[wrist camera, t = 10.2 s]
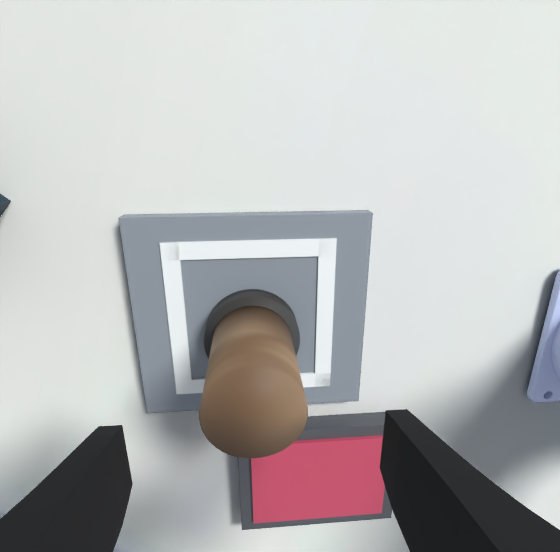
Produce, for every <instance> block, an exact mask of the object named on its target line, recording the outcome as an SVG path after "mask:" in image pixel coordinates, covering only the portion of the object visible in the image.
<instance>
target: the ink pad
mask: <svg viewBox="0 0 560 552" xmlns="http://www.w3.org/2000/svg"><path fill="white" fill-rule="evenodd" d="M384 421H385V412H378V413H362V414H345V415H328V416H311V417H307V421H306V425H305V427H304V429H303V431H302V433H301V434H300V436H299V437H298V438H297V439H296V440H295V441H294V442H293V443H292V444H291V445H290V446H288V447H287V448H286V449H284V450H282V451H280V452H278V453H276V454H273V455H270V456H267V457H262V458H241V457H238V464H239V483H240V502H241V521H242V530H248V529H260V528H272V527H284V526H297V525H309V524H321V523H333V522H346V521H358V520H370V519H382V518H391V513H392V507H391V504H390V501H389V498H388V495H387V491H386V488H385V485H384V481H383V478H382V474H381V471H380V459H381V450H382V440H383V431H384Z"/></svg>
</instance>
